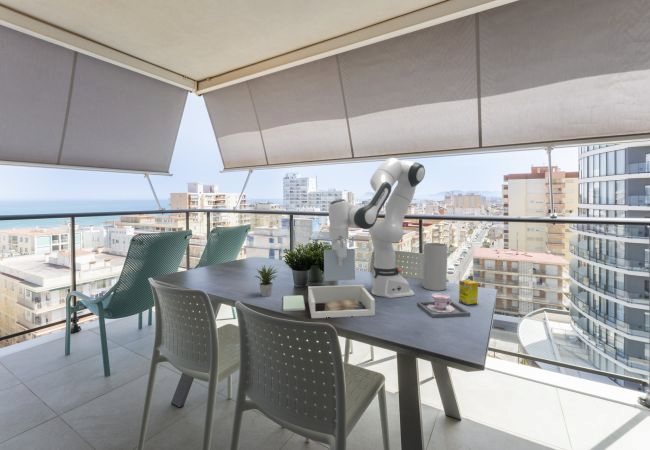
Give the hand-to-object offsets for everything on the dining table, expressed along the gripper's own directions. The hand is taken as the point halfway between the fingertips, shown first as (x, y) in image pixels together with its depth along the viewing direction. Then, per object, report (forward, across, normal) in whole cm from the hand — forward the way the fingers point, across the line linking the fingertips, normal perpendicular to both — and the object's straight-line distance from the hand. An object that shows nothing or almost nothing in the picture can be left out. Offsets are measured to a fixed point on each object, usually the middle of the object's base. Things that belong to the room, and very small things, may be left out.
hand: (339, 264), depth 153 cm
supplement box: (+22, -2, -62) cm, 66 cm away
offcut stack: (+21, -7, +1) cm, 22 cm away
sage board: (+20, +8, +22) cm, 30 cm away
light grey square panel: (+7, 0, 0) cm, 7 cm away
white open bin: (+20, -2, +1) cm, 20 cm away
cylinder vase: (+22, +26, -58) cm, 67 cm away
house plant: (+20, +23, +36) cm, 47 cm away
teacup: (+22, -7, -46) cm, 51 cm away
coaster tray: (+21, -10, -45) cm, 51 cm away
